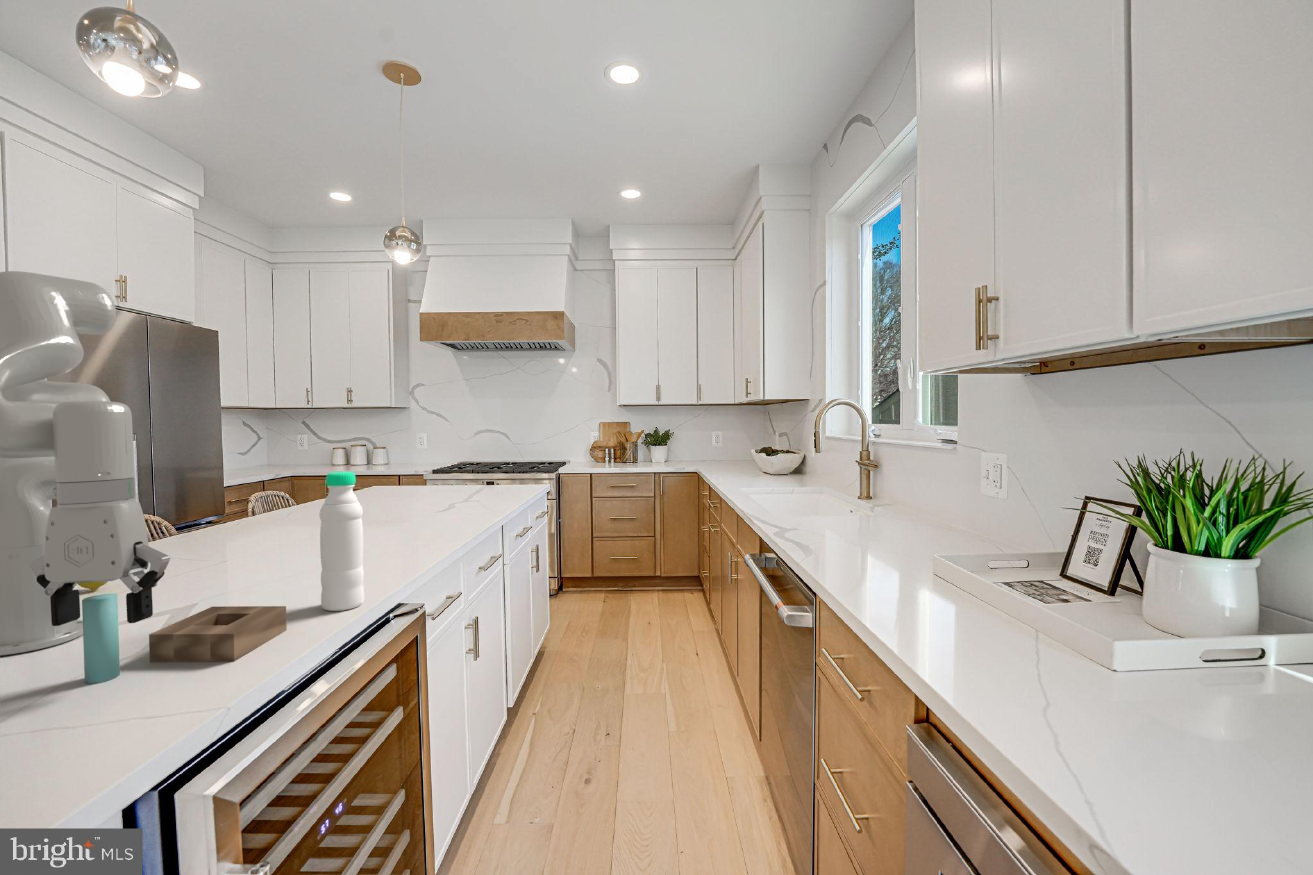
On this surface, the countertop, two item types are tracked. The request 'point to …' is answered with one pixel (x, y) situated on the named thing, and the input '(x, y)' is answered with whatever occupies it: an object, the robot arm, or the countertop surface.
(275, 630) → the socket block
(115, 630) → the dowel
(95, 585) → the lemon
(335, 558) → the water bottle
